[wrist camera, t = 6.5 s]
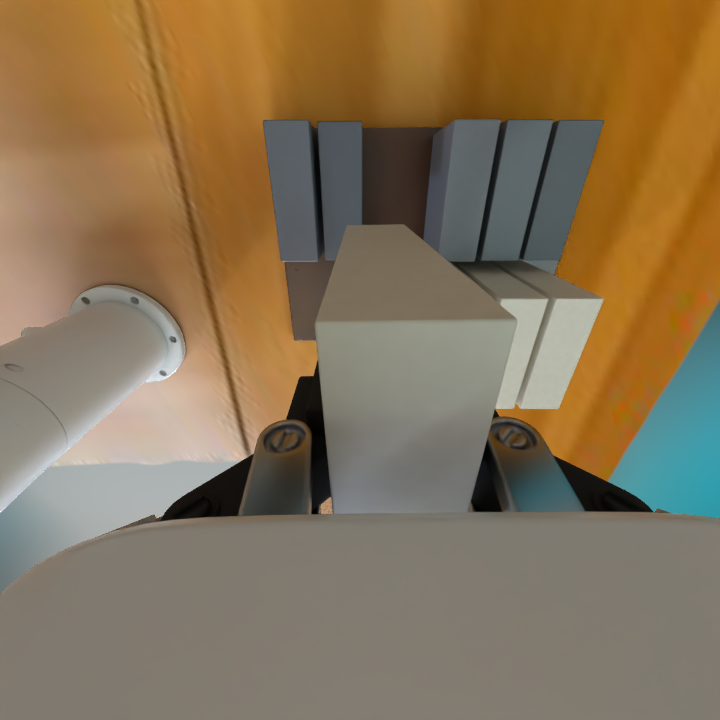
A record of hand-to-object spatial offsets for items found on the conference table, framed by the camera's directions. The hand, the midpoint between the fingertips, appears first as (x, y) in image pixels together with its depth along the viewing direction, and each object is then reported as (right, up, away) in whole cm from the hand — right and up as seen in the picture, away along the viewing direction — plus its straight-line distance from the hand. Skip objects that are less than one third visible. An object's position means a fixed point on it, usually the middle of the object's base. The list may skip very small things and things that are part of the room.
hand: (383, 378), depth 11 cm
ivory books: (+10, +7, +22) cm, 25 cm away
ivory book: (0, +4, +7) cm, 8 cm away
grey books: (+4, +16, +17) cm, 23 cm away
